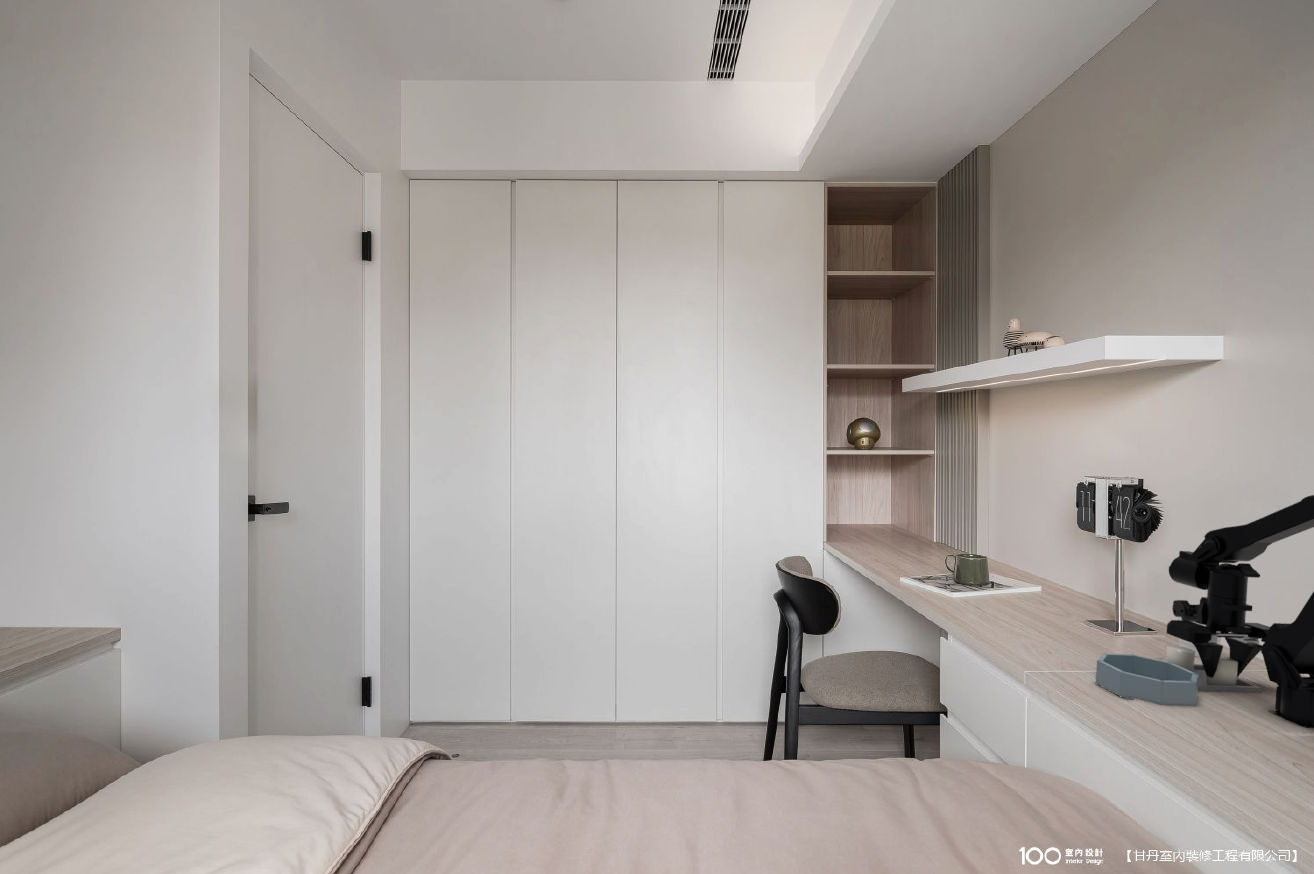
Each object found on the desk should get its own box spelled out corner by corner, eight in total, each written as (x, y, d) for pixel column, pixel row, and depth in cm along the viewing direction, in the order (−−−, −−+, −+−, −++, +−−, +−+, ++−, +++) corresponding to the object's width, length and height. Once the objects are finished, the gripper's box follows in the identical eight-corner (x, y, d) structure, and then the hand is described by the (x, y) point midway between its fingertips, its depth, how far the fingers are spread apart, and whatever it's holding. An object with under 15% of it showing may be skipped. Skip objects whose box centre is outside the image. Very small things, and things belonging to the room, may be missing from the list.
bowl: (1218, 709, 117) (1220, 683, 117) (1137, 706, 116) (1139, 681, 116) (1152, 677, 131) (1153, 654, 131) (1080, 675, 131) (1081, 652, 131)
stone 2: (1199, 678, 130) (1201, 653, 130) (1177, 677, 130) (1179, 652, 130) (1180, 670, 135) (1182, 645, 135) (1159, 669, 135) (1161, 645, 134)
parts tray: (1260, 695, 124) (1261, 687, 124) (1194, 693, 124) (1194, 685, 124) (1204, 671, 136) (1205, 664, 136) (1143, 669, 136) (1144, 662, 136)
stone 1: (1242, 689, 126) (1244, 662, 125) (1220, 688, 125) (1222, 662, 125) (1221, 680, 130) (1223, 654, 130) (1200, 679, 130) (1201, 654, 130)
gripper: (1234, 587, 136) (1229, 663, 136) (1146, 584, 135) (1142, 660, 135) (1289, 602, 125) (1283, 684, 125) (1193, 598, 124) (1188, 682, 124)
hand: (1221, 677), depth 128 cm, fingers closed on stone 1, 4 cm apart
